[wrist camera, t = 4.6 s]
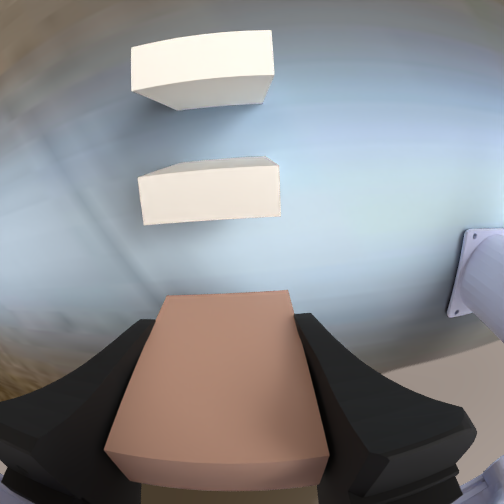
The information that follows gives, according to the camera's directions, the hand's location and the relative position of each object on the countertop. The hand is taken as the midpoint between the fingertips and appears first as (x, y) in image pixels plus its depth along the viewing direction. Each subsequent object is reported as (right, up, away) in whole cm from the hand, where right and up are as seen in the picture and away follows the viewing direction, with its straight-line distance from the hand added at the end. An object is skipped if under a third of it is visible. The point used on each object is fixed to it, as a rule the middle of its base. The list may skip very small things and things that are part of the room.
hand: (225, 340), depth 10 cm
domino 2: (-1, +8, +7) cm, 10 cm away
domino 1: (-1, +13, +5) cm, 13 cm away
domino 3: (0, +1, +2) cm, 2 cm away
